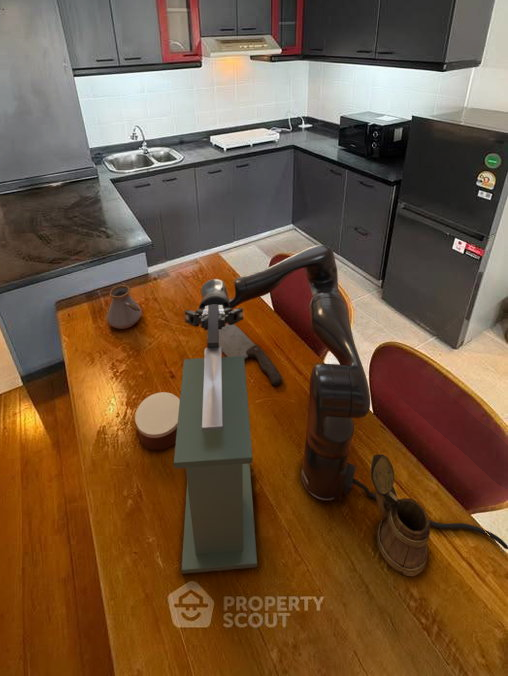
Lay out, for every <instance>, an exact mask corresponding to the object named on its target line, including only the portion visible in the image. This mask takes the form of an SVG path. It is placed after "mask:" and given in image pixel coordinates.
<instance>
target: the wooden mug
mask: <svg viewBox="0 0 508 676" xmlns="http://www.w3.org/2000/svg"><path fill="white" fill-rule="evenodd" d="M370 466H371V467H370V479H371V482H372V484H373V487H374V489H375V491H376V493H375V495H376V500H377V501H376V500H375V501H376V503H377V507H378V509H379V512H380V515H381V521H380V523H378V526H377V531H376V543H377V548H378V551H379V552H380V554H381V556H382V558H383V560H384V561H385V562H386V563H387V564H388V565H389V566H390V567H391V568H392V569H393V570H395V571H397V573H400V574H401V575H404V576H406V577H416V576H418V575H419V574H420V573H422V572H423V571H424V569H425V567H426V564H427V559H428V550H427V548H428V541H429V539H430V536H431V526H430V523H429V520H430V519H429V515H428V513H427V511H426V509H425V508H424V507H423V506H422V505H421V504H420V503H419V502H418V501H416V499H412V498H410V497H409V498H408V497H407V498H404V497H403V498H399V497H398V495H397V492H396V489H395V487H394V485H395V484H394V483H395V470H394V467H393V464H392V462H391V461H390V459H389V458H388V456H387V455H385V454H381V453H380V454H373V456H372V459H371V464H370ZM384 501H386V503H387V505H386V504H385V502H384Z"/></svg>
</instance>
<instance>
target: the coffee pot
mask: <svg viewBox="0 0 508 676" xmlns="http://www.w3.org/2000/svg"><path fill="white" fill-rule="evenodd" d="M130 293H131V288H130V287H129V286H128V285H125V284H119V285H116V286H114V287H113V288H111V290H110V291H109V297H110V298H111V302H110V303H109V304H110V305H109V308H108V311H107V314H106V321H107V323H108V324H109V326H111V327H112V328H115V329H120V330H124V329H128V328H131V327H133V326H134V325H135V324H136V323H137V322H139V320H140V318H141V317H142V315H143V314H144V311H143V310H142V309H141V306H140V305H139V304H138V303H137V302H136V301H135V299H134V298H133V297H132V296H131V295H130Z"/></svg>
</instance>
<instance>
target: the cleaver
mask: <svg viewBox="0 0 508 676" xmlns="http://www.w3.org/2000/svg"><path fill="white" fill-rule="evenodd" d="M219 347H221V348H222V354H224V355H225V357H234V356H244V360H247V359H248V358H249V359H250V358H254V359H256V360H257V362H258V365H259V368H260V369H261V371H262V372H263V373H264V374H265V375H267V377H268V378H269V381H270V383H271V385H272V386H273V387H277V386H279V385H281V384H282V383H283V377H282V375H281V373H280V371H279V370H278V369H277V367H276V365H275V364H274V363H273V361H272V360H271V359H270V357H269V356H268V354H267V353H266V352H265V351H264V350H263V349H262V348H261V346H259V345H258V344H255V343H254V342H253V341H252V340H251V338H249V337H248V336H247V335H246V334H245V333H244V331H243V330H241V329H240V328H239V326H237V325H236V323H235V324H233V325H229V324H228V323H226V325H225V327H222V329H219Z"/></svg>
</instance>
